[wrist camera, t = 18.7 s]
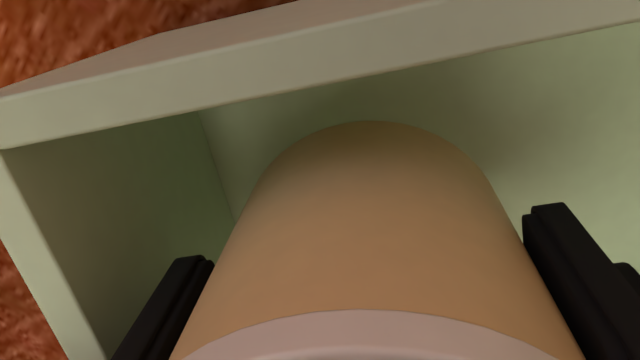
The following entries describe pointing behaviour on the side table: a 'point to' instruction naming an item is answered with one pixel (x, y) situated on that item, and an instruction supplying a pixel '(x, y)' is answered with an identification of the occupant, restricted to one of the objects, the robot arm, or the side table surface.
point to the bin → (304, 132)
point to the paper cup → (375, 261)
